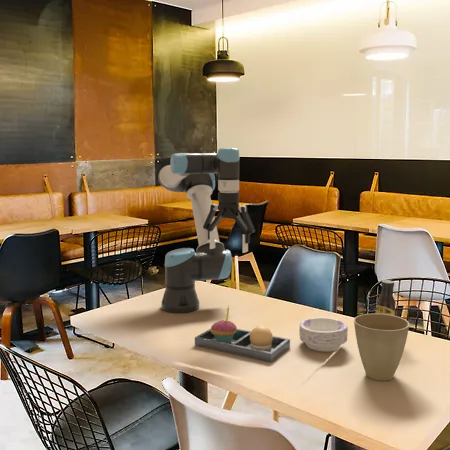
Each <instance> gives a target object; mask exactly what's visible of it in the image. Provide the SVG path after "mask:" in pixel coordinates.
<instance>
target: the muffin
mask: <svg viewBox="0 0 450 450" xmlns="http://www.w3.org/2000/svg"><path fill="white" fill-rule="evenodd" d="M273 336H274V335H273V332H272V331H271V329H269V328H268V327H267V326H264V325H258V326H256V327H253V329H251V333H250V342H251V348H253V349H257V350H262V351H267V352H270V351H271V343H272V340H273Z"/></svg>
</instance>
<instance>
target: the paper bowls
mask: <svg viewBox="0 0 450 450" xmlns="http://www.w3.org/2000/svg"><path fill="white" fill-rule="evenodd" d="M348 328H349V327H348V324H347V323H345V322H344V321H343V320H340V319H336V318H331V317H311V318H307V319H303V320H301V322H299V339H300V341H301V342H302V343H305V345H306V347H307V348H309V349H310V350H313V351H317V352H336V351H338V350H339V349H340V347H341V346H342V345H344V344H346V343H347V341H348Z"/></svg>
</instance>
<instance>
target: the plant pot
mask: <svg viewBox="0 0 450 450" xmlns="http://www.w3.org/2000/svg"><path fill="white" fill-rule="evenodd" d="M353 324H354V332H355V338H356V339H355V340H356V344H357V348H358V353H359V357H360V360H361V364H362V366H363V370H364V372H365V374H366V377H368V378H370V379H372V380H374V381H390V380H392V379H394V375H395V374H396V371H397V369H398V367H399V365H400V362H401V360H402V356H403V354H404V349H405V347H406V344H407V343H406V342H407V339H408V334H409V330H410V329H409V328H410V322H409V321H408V320H406V319H405V318H402V317H400V316H396V315H395V316H393V315H388V314H376V313H364V314H359V315H357V316H355V317H354V319H353Z"/></svg>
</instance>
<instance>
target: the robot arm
mask: <svg viewBox="0 0 450 450" xmlns="http://www.w3.org/2000/svg"><path fill="white" fill-rule="evenodd" d="M240 158H241V157H240V150H239V148H237V147H236V148H235V147H220V148H219V149H218V150H217V152H201V153H200V152H199V153H195V152H194V153H191V152H190V153H186V152H184V153H183V152H178V153H173V154H172V155H171V157H170V164H169V165H165V166H163V167H162V168H161V169H160V170H159V173H158V177H157V178H158V182H159V184H160V186H161V187H162V188H164V189H165V190H167V191H170V192H173V193H185V195H186V198H188V200H190V202H191V209H192V214H193V220H194V225H195V230H196V235H197V242H198V246H197V248H196V251H195V249H194V248H193V247H192V248H191V247H182V248H177V249H174V250H170V251H168V252H167V253H166V254H165V257H164V258H165V259H164V270H165V273H164V274H165V279H164V280H165V289H164V293H163V297H162V300H161V310H163V311H164V312H168V313H173V314H185V313H192V312H195V311H197V310H199V309H200V300H199V297H198V294H197V290H196V284H195V283H196V282H199V281H213V280H217V281H218V280H223V279H227V278H228V277H229V276H230V274H231V271H232V265H233V264H232V253H231V250H229V249H226V248H225V244H224V243H223V242H220V238H219V232H218V227H217V225H218V224H219V223H220V222H221V220H222V219H223V218H225V219H227V218H228V219H233V220H234V221H235V222H236V223H237V225H238V226H239V228H240V229H241V230H242V232H243V233H244V234H242V254H245V253H247V252H249V244H250V242H251V234H253V233H256V229H255V226H254V224H253V222H252V219H251V217H250V215H249V212H248V206H247V205H243V206H240V204H239V203H240V192H239V191H240ZM215 174H217V179H218V180H217V190H218V191H219V192H218V193H217V202H218V204H216V203H212V199H211V195H212V194H213V191H214V190H215V188H216V177H215ZM217 211H218V214H217V215H216V217H215V214H216V212H217ZM239 212H240V213H241V214H240V213H239Z"/></svg>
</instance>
